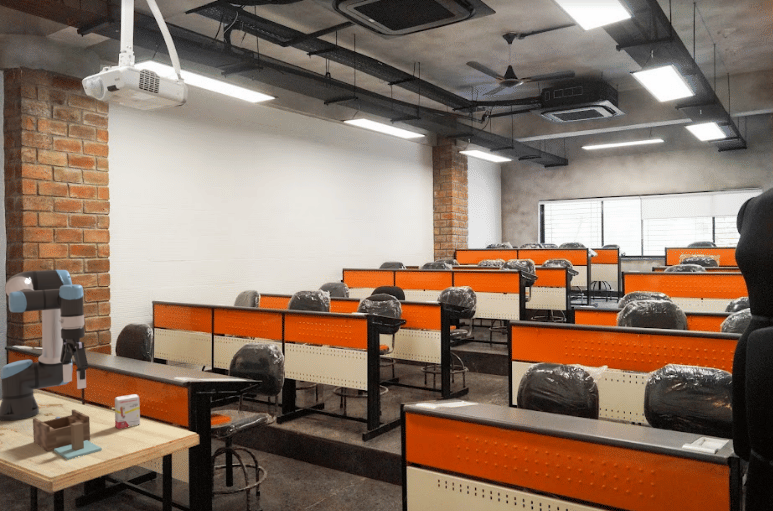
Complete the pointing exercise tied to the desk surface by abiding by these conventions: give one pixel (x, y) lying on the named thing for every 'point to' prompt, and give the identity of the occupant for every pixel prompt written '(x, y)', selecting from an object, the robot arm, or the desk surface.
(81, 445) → the lid
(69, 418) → the walnut box
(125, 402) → the ink box
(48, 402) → the desk surface
